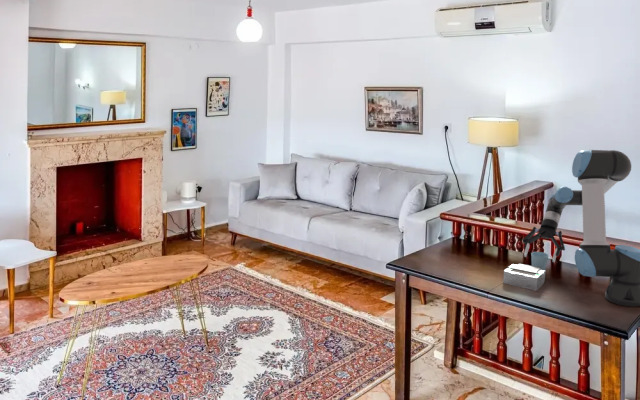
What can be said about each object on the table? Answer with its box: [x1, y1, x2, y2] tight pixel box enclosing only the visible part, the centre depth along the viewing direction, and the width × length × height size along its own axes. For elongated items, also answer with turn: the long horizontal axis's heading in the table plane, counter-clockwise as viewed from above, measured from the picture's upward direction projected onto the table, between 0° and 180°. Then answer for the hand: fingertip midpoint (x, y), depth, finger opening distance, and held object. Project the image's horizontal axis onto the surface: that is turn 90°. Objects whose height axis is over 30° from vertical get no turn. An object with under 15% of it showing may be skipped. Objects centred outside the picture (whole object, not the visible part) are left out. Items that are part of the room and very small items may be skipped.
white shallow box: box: [506, 263, 541, 276], centre depth 258 cm, size 11×14×6 cm
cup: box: [530, 251, 549, 271], centre depth 266 cm, size 8×8×10 cm
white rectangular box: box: [502, 263, 546, 291], centre depth 256 cm, size 12×15×6 cm
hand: (538, 258), depth 273 cm, fingers open, 13 cm apart
